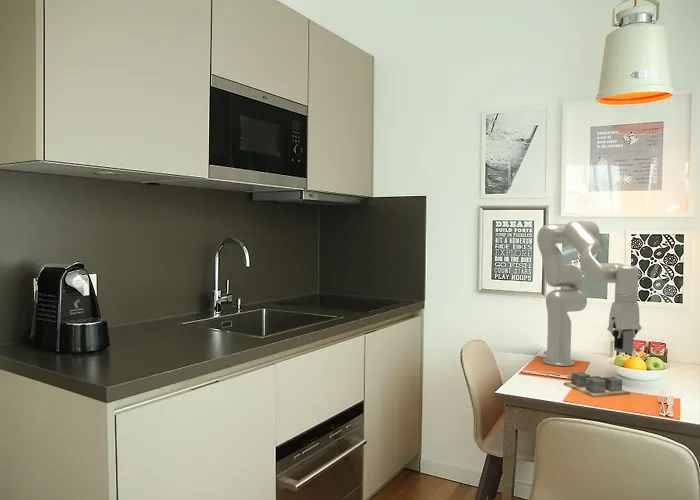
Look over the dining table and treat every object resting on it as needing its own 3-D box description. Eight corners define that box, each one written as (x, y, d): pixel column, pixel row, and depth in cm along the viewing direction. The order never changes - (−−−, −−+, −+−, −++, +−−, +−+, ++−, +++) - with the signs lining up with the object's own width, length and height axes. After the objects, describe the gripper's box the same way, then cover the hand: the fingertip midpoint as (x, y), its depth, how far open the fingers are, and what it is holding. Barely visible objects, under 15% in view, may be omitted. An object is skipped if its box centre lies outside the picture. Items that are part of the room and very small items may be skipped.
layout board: (563, 384, 209) (564, 371, 209) (598, 382, 213) (598, 369, 213) (593, 397, 193) (593, 383, 193) (630, 394, 197) (630, 380, 197)
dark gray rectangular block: (614, 350, 211) (615, 328, 211) (624, 349, 213) (625, 328, 212) (622, 352, 207) (623, 331, 207) (632, 352, 208) (633, 330, 208)
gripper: (637, 297, 215) (634, 344, 216) (599, 297, 210) (597, 346, 211) (652, 299, 207) (650, 349, 209) (614, 300, 203) (611, 351, 204)
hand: (623, 347), depth 210 cm, fingers closed on dark gray rectangular block, 4 cm apart
